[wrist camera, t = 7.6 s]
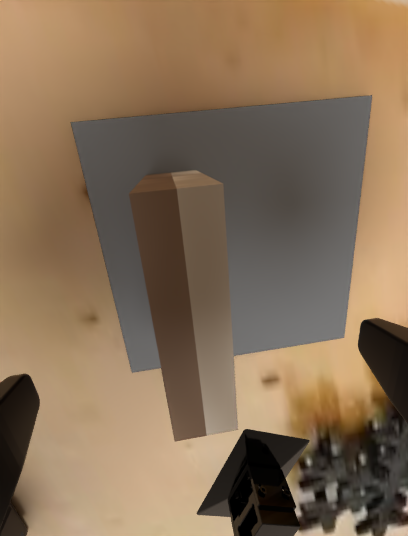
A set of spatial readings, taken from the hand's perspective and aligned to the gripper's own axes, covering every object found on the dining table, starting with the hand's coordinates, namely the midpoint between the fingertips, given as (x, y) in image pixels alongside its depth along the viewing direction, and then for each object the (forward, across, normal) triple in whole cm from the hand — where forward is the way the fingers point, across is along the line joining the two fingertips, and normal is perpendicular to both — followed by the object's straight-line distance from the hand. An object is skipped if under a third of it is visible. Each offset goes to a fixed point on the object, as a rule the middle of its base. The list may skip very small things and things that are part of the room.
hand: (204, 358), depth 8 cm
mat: (+9, -3, 0) cm, 9 cm away
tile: (+8, 0, 0) cm, 8 cm away
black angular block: (+9, -3, +20) cm, 23 cm away
